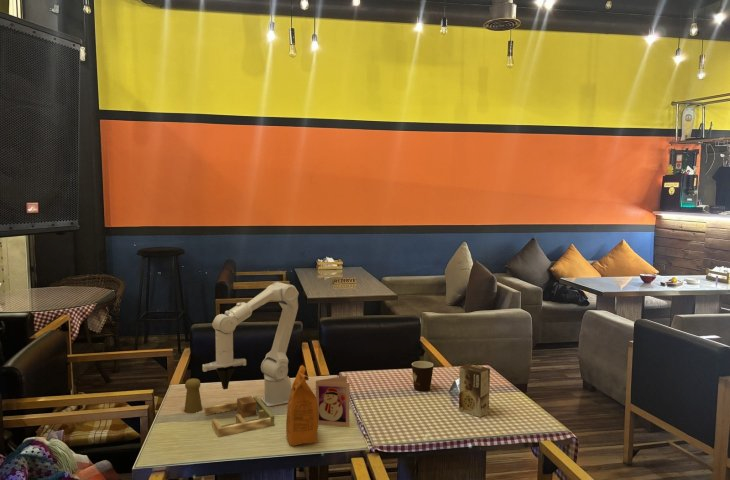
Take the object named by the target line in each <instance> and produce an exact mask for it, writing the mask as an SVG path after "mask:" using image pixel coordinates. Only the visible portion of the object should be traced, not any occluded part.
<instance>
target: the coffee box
mask: <svg viewBox="0 0 730 480" xmlns="http://www.w3.org/2000/svg"><path fill="white" fill-rule="evenodd" d="M458 372H459V375H458V376H459V377H458V379H459V383H458V386H459V387H458V389H459V390H458V394H459V395H458V412H462V413H466V414H468V415H472V416H475V417H478V418H481V417H484V416H485V415H487V414H489V413H490V381H491V380H490V378H491V376H490V375H491V373H490V372H491V368H489V367H485V366H482V365H477V364H472V363H467V364H464V365H462V366H460V367H459V371H458Z"/></svg>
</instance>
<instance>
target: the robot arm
mask: <svg viewBox="0 0 730 480" xmlns="http://www.w3.org/2000/svg"><path fill="white" fill-rule="evenodd" d="M299 294H300V293H299V291H298V290H297V288H296V286H295V285H293V284H289V283H283V282H280V281H274V282H273V283H272V284H270V285H268V286H267V287H266V288H265V289H264V290H262V291H261V292H260V293H258V294H257V295H256V296H254V298H251V299H250V300H249V301H247V302H245V301H244V302H243V301H241V302H236V305H235V306H233V307H232V308H230V309H229V310H225V311H224V314H223V313H221V314H220V313H219V314H218V315H216V316H215V317H214V319H213V321H212V323H211V326H212V328H213V329H214V331H215V361H212V362H209V363H205V364H204V363H203V364H202V365H201V366H202V372H204V373H205V372H208V371H212V370H216V373H217V374H218V375H217V376H218V377H219V379H220V383H221V386H222V387H221V388H222V390H228V389H229V383H230V381H231V378H232V375H233V374H234V372H235V368H234V367H238V366H239V367H240V366H242V367H243V366H244V367H245V366H247V359H246V358H245V357H244V358H234V331H235V330H236V327H237V326H238V325H239V324H241V323H242V322H244V321H245V320H247V319H248V318H250V317H251V316H252V313H253V311H255V310H257V309H258V308H260V307H262V306H264V305H266V304H267V303H269V302H270V301H276V302H278V304H279V306H280V307H281V308H282V310H281V314H280V317H279V320H278V321H279V322H278V326H277V328H276V331H275V336H274V338H273V339H274V340H273V343H272V346H271V349H270V351H269V352H267V353H266V354H265V358H264V359H263V360H262V362H261V363H260V364H261V365H260V371H261V373H263V377H264V397H261V398H260V401H261V402H262V403H263V404H264V405H265V406H266V407H274V406H279V405H284V404H288V402H289V398H290V394H291V389H292V381H291V378H290V377H289V375H288V373H289V367H288V366H289V365H288V364H289V363H290V362H289V359H288V357H287V351H288V347H289V343H290V340H291V335H292V332H293V329H294V325H295V321H296V317H297V313H298V311H299V310H298V309H299V301H298V300H299V299H298V298H299Z"/></svg>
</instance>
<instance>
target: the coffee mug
mask: <svg viewBox="0 0 730 480" xmlns="http://www.w3.org/2000/svg"><path fill="white" fill-rule="evenodd" d="M411 370H412V379H413V389H414V391H416V392H419V393H425V392H426V393H427V392H430V390H431V385H432V380H433V373H434V372H433V371H434V363H433V362H430V361H427V360H418V361H414V362H412V363H411Z"/></svg>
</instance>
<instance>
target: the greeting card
mask: <svg viewBox="0 0 730 480" xmlns="http://www.w3.org/2000/svg"><path fill="white" fill-rule="evenodd" d="M350 383H351V382H348V375H343V376H342V375H341V376H337V377H330V378H324V379H318V380H315V397H316V400H317V407H318V420H319V421H318V426H319V425H320V426H322V425H323V426H335V427H348V428H349V427H350V398H351V395H350V387H351V386H350Z"/></svg>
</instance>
